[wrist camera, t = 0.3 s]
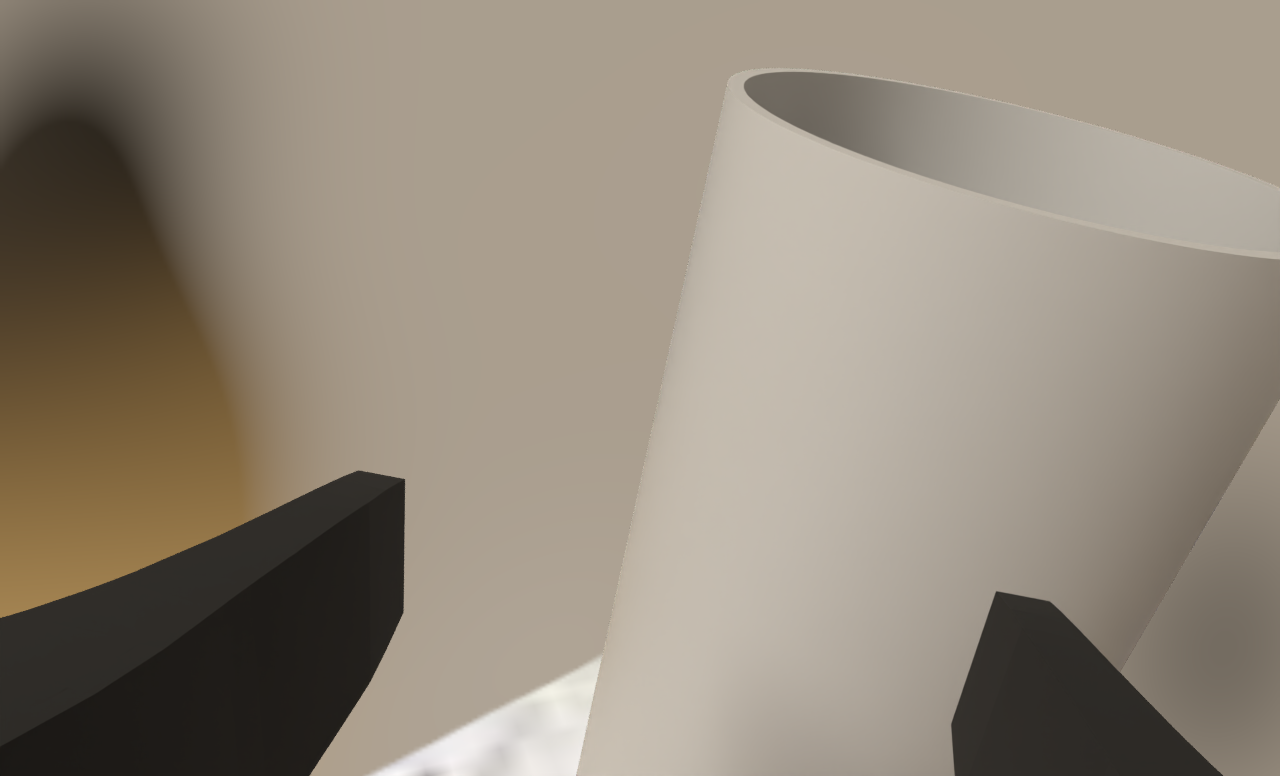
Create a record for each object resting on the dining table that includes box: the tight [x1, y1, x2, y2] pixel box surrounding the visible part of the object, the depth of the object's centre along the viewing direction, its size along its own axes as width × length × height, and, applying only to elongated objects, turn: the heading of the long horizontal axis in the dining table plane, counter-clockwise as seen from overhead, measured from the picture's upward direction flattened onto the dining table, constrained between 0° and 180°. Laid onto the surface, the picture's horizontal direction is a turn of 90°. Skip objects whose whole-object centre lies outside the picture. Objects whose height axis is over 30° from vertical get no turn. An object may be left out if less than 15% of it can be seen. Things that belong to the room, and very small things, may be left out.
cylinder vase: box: [576, 68, 1280, 776], centre depth 25 cm, size 12×12×25 cm
